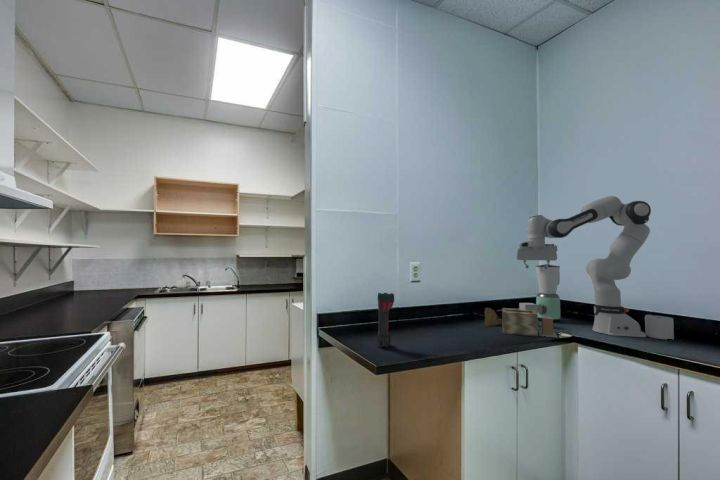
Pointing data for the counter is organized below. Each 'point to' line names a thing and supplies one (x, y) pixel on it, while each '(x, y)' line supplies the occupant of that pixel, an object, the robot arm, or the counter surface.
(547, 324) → the block
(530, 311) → the crate
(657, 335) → the toilet tissue
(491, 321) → the rock
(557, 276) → the juicer
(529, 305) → the supplement box
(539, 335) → the mat
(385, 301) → the flashlight
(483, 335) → the counter surface
